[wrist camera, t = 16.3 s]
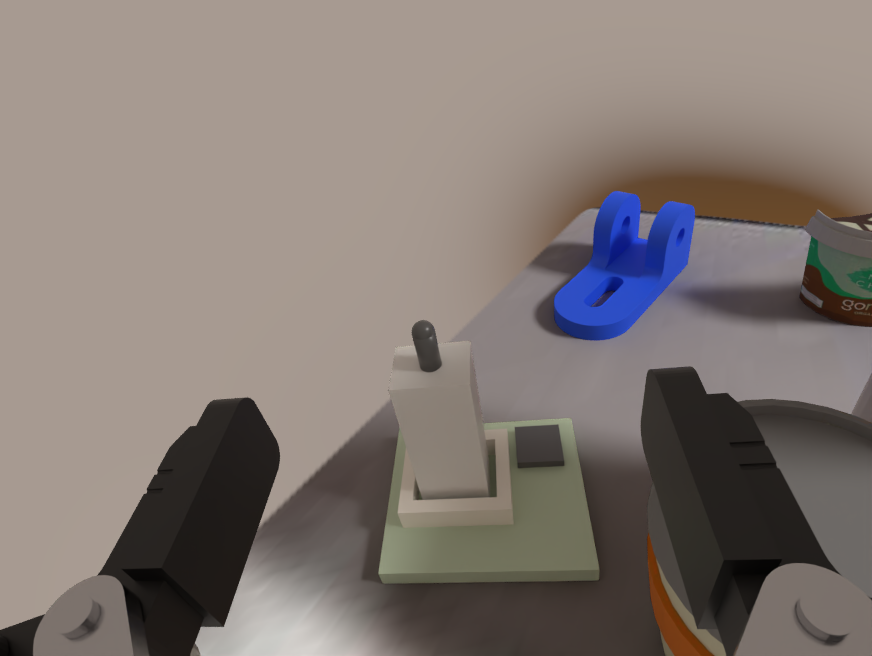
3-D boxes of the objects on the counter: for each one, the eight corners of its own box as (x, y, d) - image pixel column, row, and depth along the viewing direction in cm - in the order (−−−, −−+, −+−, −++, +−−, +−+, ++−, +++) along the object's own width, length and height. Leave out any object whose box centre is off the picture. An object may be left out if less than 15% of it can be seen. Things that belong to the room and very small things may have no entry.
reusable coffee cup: (605, 554, 36) (617, 410, 27) (793, 536, 35) (873, 380, 26) (672, 792, 26) (727, 696, 17) (936, 778, 25) (1150, 666, 16)
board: (571, 429, 45) (571, 401, 43) (598, 580, 35) (600, 554, 33) (402, 439, 47) (394, 413, 45) (383, 583, 37) (371, 559, 35)
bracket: (621, 248, 66) (625, 181, 60) (687, 265, 61) (698, 194, 55) (539, 324, 57) (536, 253, 51) (609, 351, 52) (613, 277, 46)
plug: (489, 453, 42) (463, 291, 32) (490, 505, 39) (462, 341, 29) (429, 456, 43) (386, 299, 33) (425, 508, 39) (375, 348, 29)
